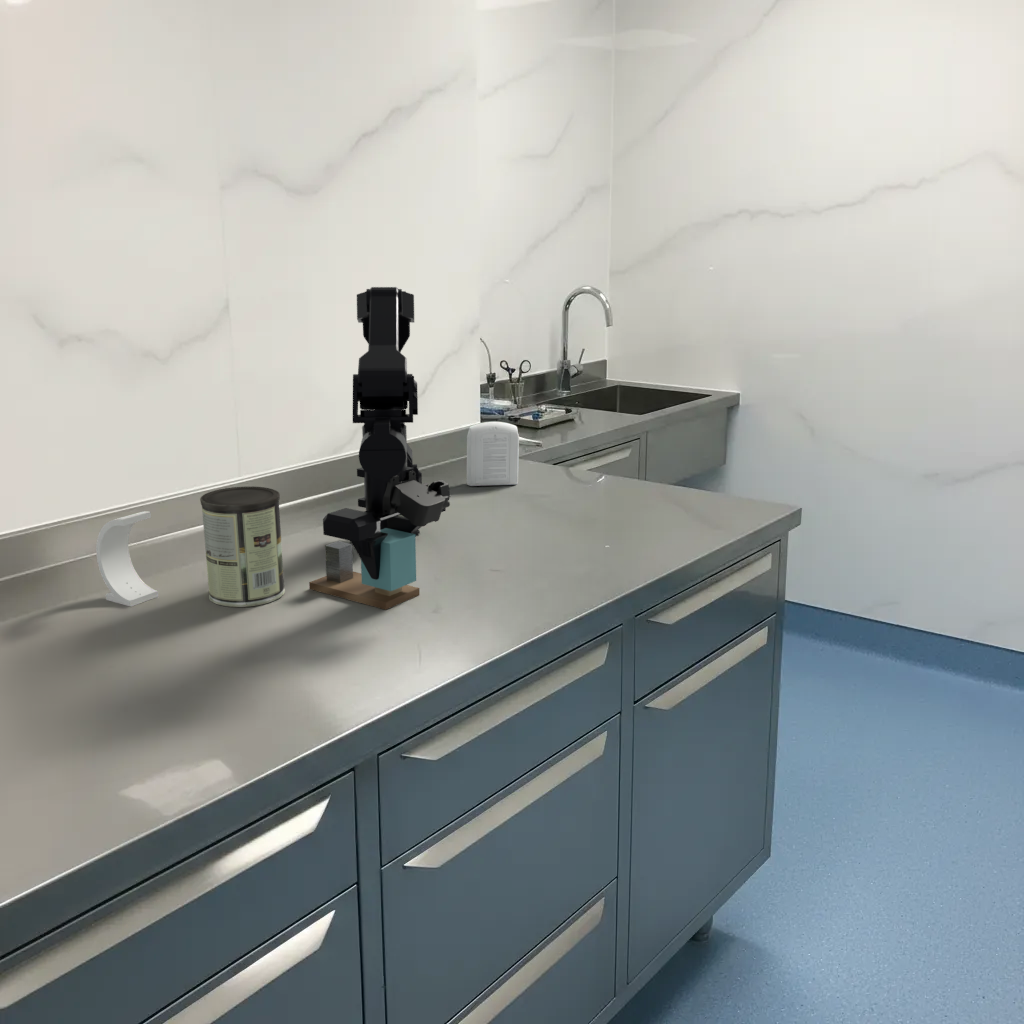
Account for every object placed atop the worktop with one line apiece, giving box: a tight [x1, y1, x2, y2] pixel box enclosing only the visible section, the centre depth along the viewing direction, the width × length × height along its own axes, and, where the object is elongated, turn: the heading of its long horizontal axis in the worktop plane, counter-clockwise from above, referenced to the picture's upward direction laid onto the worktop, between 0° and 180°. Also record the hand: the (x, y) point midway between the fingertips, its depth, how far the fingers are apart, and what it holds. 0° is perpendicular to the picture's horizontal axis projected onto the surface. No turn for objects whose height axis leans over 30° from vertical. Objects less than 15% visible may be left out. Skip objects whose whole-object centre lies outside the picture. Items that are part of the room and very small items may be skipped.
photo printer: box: [466, 421, 520, 487], centre depth 203 cm, size 10×4×12 cm, turn 102°
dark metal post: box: [324, 540, 354, 583], centre depth 146 cm, size 3×3×5 cm
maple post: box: [375, 587, 402, 596], centre depth 141 cm, size 3×3×5 cm
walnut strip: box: [308, 571, 420, 611], centre depth 145 cm, size 14×7×1 cm, turn 56°
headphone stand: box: [95, 510, 159, 608], centre depth 141 cm, size 5×6×12 cm
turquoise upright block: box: [360, 528, 417, 591], centre depth 141 cm, size 5×5×7 cm
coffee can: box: [199, 486, 286, 608], centre depth 142 cm, size 10×10×14 cm
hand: (388, 573), depth 141 cm, fingers closed on turquoise upright block, 5 cm apart
